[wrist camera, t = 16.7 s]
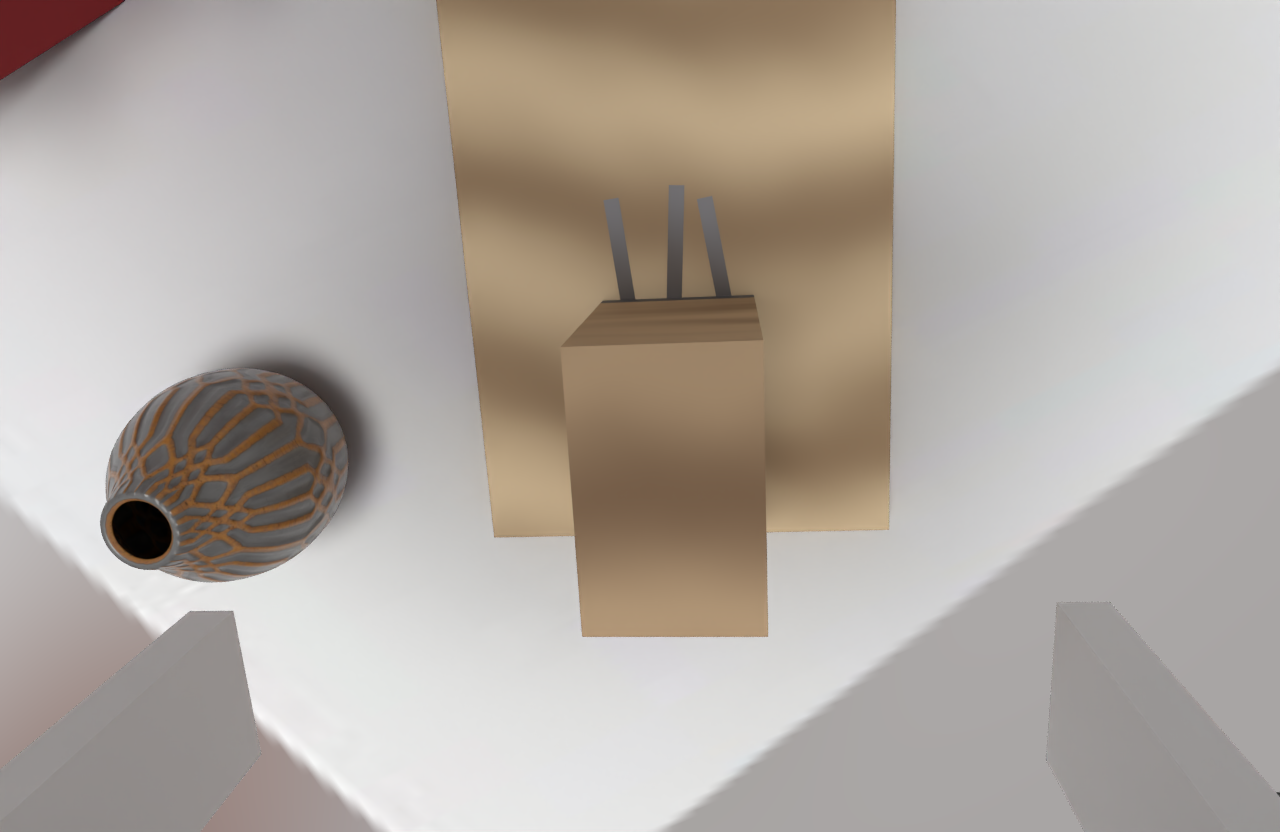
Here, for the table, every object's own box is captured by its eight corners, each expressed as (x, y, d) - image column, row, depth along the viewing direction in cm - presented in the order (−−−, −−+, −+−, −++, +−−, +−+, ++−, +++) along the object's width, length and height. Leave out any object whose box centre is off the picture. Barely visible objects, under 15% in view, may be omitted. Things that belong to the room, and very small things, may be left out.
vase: (409, 479, 34) (303, 582, 25) (264, 555, 35) (119, 677, 27) (306, 318, 33) (160, 370, 24) (161, 404, 34) (-26, 482, 26)
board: (429, -168, 28) (416, -182, 27) (891, -216, 27) (898, -234, 25) (502, 524, 34) (494, 537, 33) (883, 516, 32) (888, 529, 31)
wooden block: (602, 300, 30) (560, 346, 22) (753, 294, 30) (763, 340, 22) (616, 524, 32) (582, 636, 25) (757, 522, 32) (767, 636, 24)
